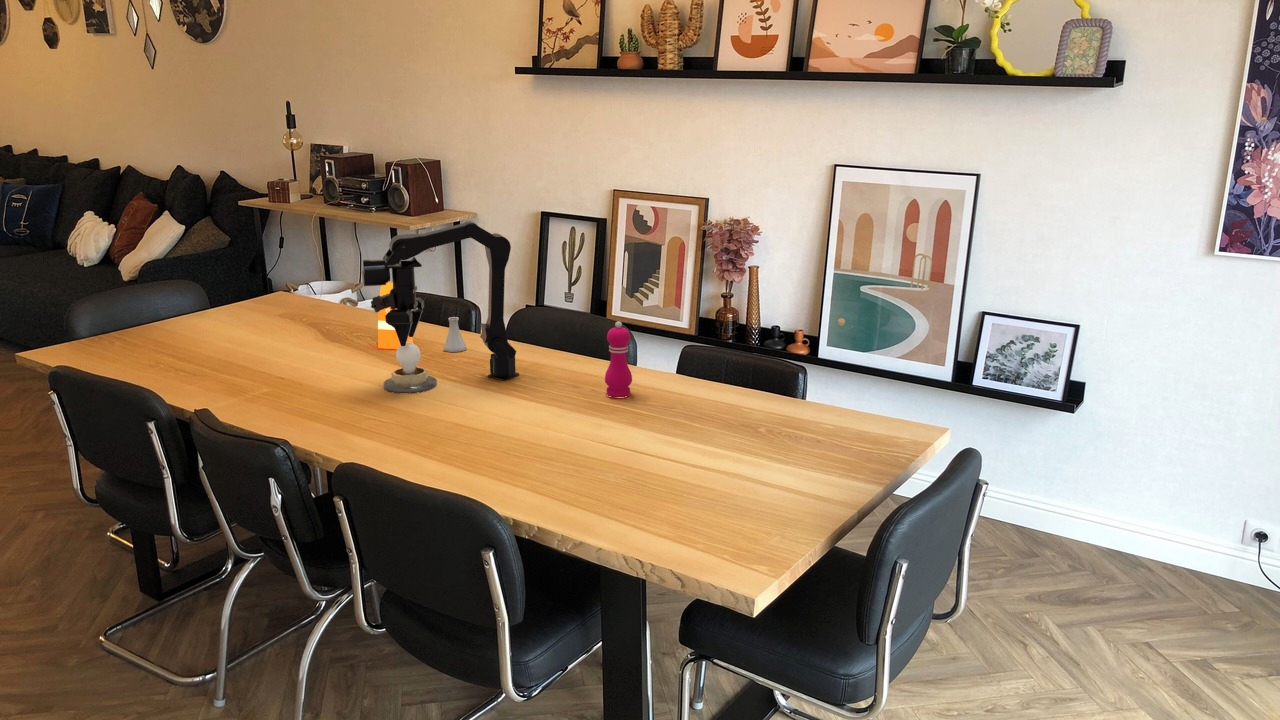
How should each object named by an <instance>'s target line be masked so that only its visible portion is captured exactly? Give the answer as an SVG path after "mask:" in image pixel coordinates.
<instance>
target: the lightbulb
mask: <svg viewBox="0 0 1280 720" xmlns="http://www.w3.org/2000/svg"><path fill="white" fill-rule="evenodd" d="M395 352H396V353H395V356H396V360H397V362H398V363H399V364H400V365H401V368H403V371H404V374H405V376H411V375H414V374H415V369H416V367H417V364H418V363H419V361H420V360H421V350H420V348H419V346H418V345H417V344H415V343H409V342H407V343H406V345H405V346H401V345H400V346H399V347H398V349H396V351H395Z"/></svg>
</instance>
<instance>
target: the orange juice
mask: <svg viewBox="0 0 1280 720" xmlns="http://www.w3.org/2000/svg"><path fill="white" fill-rule="evenodd" d="M392 288H393V282H392V281H391V282H390V281H388V283H386V285H380V292H379V295H380V296H383V295H386V294H388V293H390V290H391V289H392ZM390 310H391V309H390V307H388V308H386V309H383V310H380V311H379V312H377V315H378V316H377V317H378V320H377V321H378V322H377V331H378V332H377V338H378V339H377V344H378V345H377V346H378V347H377V348H378V349H387V350H388V349H389V350H390V349H391V350H397V349H398V347H399V346H400V342H399V339H398V336H397V333H396V331H395V329H394V328H393V327H392V326H391V325H388V323H386V321H385V315H386V314H387V313H388V312H389V311H390ZM413 338H414V336H413V337H409V335H408V339H407V342H409V343H413V341H414V339H413ZM407 342H406V343H407ZM413 344H414V343H413Z"/></svg>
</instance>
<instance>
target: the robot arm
mask: <svg viewBox="0 0 1280 720" xmlns="http://www.w3.org/2000/svg"><path fill="white" fill-rule="evenodd" d="M466 239H472V240H474V241H476V242H477V243H479V244H481V245H482V246H484V250H485V256H486V261H487V263H488V267H489V268H488V269H489V270H488V305H487V306H488V307H487V319H486V322H485V323H483V322H482V323H480V329H481V334H480V336H479V338H480V339H481V340H482V343H483V344H484V345H485V346H486V347H487V349H488V350H489V351H490V352H491V354H490V359H489V374H487V378H491V379H496V380H501V381H508V380H510V379H512V378H515V377H517V376H520V373H519V372H518V371H517V372H516V355H517V350H516V349H515V348H514V346H512V344H510V342H509V340H508V333H507V330H506V329H507V328H506V325H505V320H504V316H505V315H504V313H505V312H504V311H505V309H504V308H505V282H506V281H505V278H506V275H505V273H506V268H507V265H508V262H509V259H510V256H511V255H510V254H511V248H512V246H511V242H510V241H509V239H508V238H506V236H503V235H502V234H500V233H490V232H489V231H488V230H485V229H484V228H482V227H480V226H478V224H476V223H475V222H474V221H470V220H469V221H468V220H467V221H465V222H463V223H460V224H456V225H452V226H451V225H450V226H448V227H443V228H440V229H436V230H431V231H429V232H428V231H427V232H425V233H409V234H407V233H405V234H398V235H395V236H393V237H392V238H391V240H390V241H389V244H388V247H389V248H388V250H387V251H386V253H385V254H384V255H383V257H382V259H363V260H362V270H361V279H362V285H363V287H375V286H378V287H379V286H380V287H381V286H382V285H386V283H388V282H390V281H391V282H393V288H392V289H391V290H390V293H388V294H386V295H383V296H380V294H378V295H377V296H374V297H372V300H370V305H371V306H370V307H371V308H372V309H373V310H374V312H375V313H378V312H379V311H380V310H383V309H386V308H388V307H390V309H391V310H390V311H389V312H388V313H387V314H386V315H385V321H386V323H388V325H391V326H392V327H393V328H394V329H395V331H396V333H397V336H398V339H399V342H400V345H401V346H405V345H406V342H407V339H408V335H409V337H413V338H414V336H415V333H416V330H417V327H418V325H419V323H420V319H421V316H422V313H423V312H424V308H425V301H424V299H422V297H416V291H418V285H416V281H415V280H416V279H415V277H416V276H415V275H416V274H415V268H422V267H423V266H422V263H421V262H420V261H419V260H417V258H416V256H418V255H420V254H421V253H423V252H425V251H427V250H429V249H433V248H436V247H440V246H443V245H448V244H451V243H455V242H459V241H464V240H466ZM409 259H410V260H409ZM390 269H391V270H390ZM391 279H392V280H391ZM418 308H419V309H418Z"/></svg>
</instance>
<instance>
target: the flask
mask: <svg viewBox="0 0 1280 720" xmlns="http://www.w3.org/2000/svg"><path fill="white" fill-rule="evenodd" d="M448 322H449V324H448V325H449V327H448V332H447V335H446V338H445V342H444V346H443V352H449V353H456V352H457V353H460V352H463V351H465V350H467V346H466V343H465V342H464V339H463V336H462V333H461V331H460V328H459V317H458V316H452V317H451V316H450V317H448Z"/></svg>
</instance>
